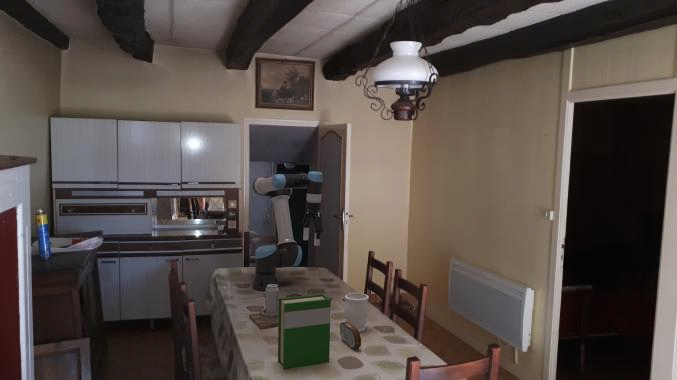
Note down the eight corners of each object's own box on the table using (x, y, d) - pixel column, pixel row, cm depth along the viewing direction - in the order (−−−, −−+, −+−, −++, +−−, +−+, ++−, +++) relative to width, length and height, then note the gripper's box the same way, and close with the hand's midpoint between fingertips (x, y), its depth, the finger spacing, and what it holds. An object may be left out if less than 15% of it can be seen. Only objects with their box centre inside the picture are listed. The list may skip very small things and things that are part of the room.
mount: (249, 317, 232) (249, 308, 232) (281, 313, 240) (281, 304, 239) (260, 329, 218) (260, 319, 218) (294, 324, 226) (294, 314, 225)
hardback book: (283, 369, 179) (284, 304, 177) (277, 361, 186) (278, 298, 184) (329, 362, 186) (330, 299, 184) (321, 354, 193) (323, 293, 191)
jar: (355, 323, 229) (356, 291, 227) (372, 329, 221) (373, 296, 220) (339, 329, 221) (339, 295, 220) (356, 335, 214) (357, 301, 212)
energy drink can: (266, 315, 232) (266, 283, 231) (279, 315, 232) (279, 283, 231) (264, 319, 226) (264, 287, 225) (277, 320, 226) (277, 287, 225)
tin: (361, 351, 198) (362, 330, 197) (354, 352, 196) (355, 331, 196) (345, 337, 211) (345, 318, 210) (338, 338, 210) (338, 319, 209)
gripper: (331, 205, 248) (328, 247, 250) (310, 198, 270) (307, 237, 272) (317, 205, 244) (314, 247, 246) (297, 198, 266) (295, 238, 268)
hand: (311, 242), depth 259 cm, fingers open, 13 cm apart
